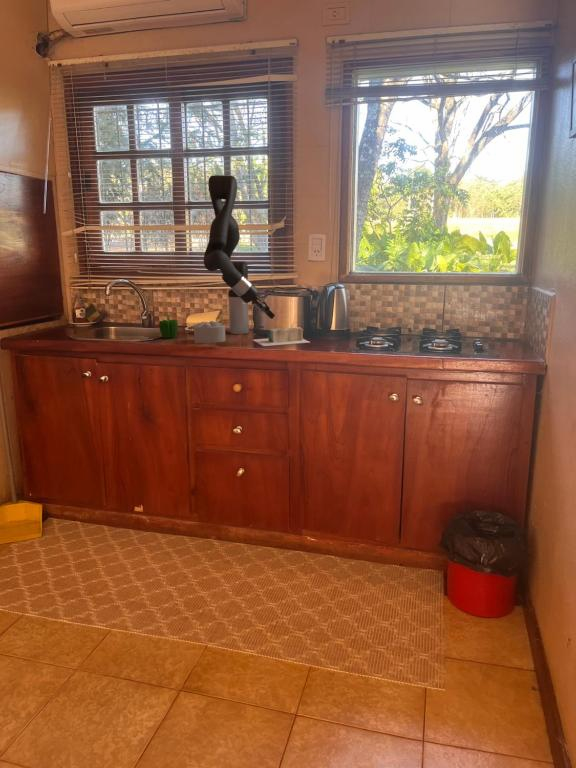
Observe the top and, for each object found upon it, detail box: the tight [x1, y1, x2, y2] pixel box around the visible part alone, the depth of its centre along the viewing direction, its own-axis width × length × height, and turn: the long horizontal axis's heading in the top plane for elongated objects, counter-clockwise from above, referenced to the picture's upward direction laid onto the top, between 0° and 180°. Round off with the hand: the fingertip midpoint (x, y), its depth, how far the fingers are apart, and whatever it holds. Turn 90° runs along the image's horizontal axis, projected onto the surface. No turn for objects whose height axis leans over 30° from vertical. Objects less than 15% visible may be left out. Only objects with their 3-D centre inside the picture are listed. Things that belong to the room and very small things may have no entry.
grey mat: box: [252, 338, 310, 347], centre depth 235 cm, size 16×21×1 cm
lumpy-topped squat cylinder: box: [193, 320, 226, 345], centre depth 238 cm, size 10×13×9 cm
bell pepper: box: [158, 315, 179, 339], centre depth 248 cm, size 8×8×10 cm
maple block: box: [267, 326, 304, 343], centre depth 235 cm, size 5×5×14 cm
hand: (273, 317), depth 231 cm, fingers closed
